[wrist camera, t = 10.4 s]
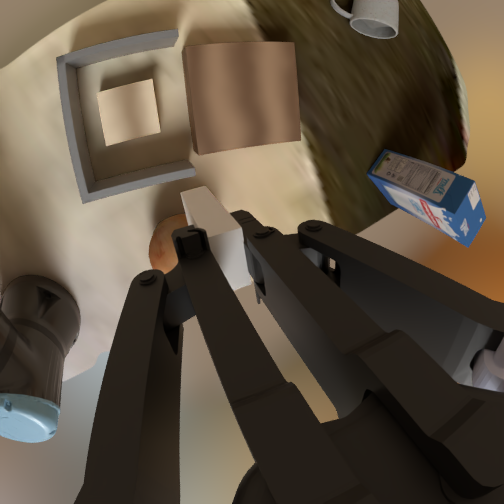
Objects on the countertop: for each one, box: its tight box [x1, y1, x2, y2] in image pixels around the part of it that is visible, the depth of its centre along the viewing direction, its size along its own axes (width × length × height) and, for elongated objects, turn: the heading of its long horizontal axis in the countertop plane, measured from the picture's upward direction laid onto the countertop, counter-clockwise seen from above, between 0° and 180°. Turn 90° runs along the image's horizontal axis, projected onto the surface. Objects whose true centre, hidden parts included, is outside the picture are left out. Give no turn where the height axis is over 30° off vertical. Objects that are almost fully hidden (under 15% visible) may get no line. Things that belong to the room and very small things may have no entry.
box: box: [56, 29, 196, 204], centre depth 31 cm, size 14×18×6 cm
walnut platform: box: [182, 42, 301, 155], centre depth 35 cm, size 14×14×4 cm
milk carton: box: [367, 149, 486, 247], centre depth 44 cm, size 10×6×20 cm, turn 50°
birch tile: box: [97, 79, 161, 146], centre depth 32 cm, size 7×7×3 cm
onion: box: [149, 214, 188, 274], centre depth 40 cm, size 10×10×10 cm
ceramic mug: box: [330, 0, 399, 39], centre depth 32 cm, size 11×8×8 cm
